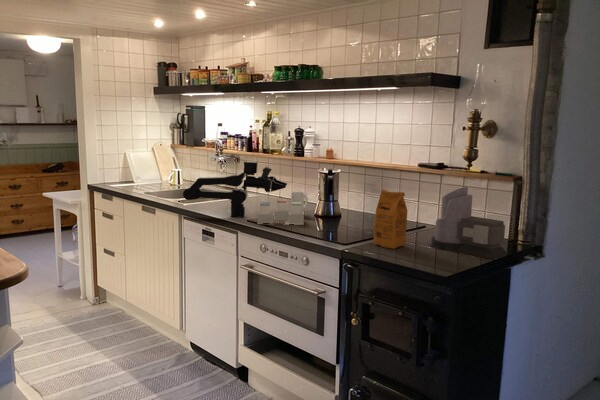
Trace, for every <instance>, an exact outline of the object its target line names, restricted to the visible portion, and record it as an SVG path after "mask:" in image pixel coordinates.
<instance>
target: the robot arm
mask: <svg viewBox="0 0 600 400" xmlns="http://www.w3.org/2000/svg"><path fill="white" fill-rule="evenodd" d="M257 170H258V161H244V162H243V172H241V173H240V174H239V173H236V174H231V175H228V176H214V177H211V176H210V177H198V178H197V179H196V180H195V181H194V183H193V184H191V186H190V187H187V188H186V189H184V190H183V193H182V196H183V198H184V199H185V200H186V201H192V200H198V199H212V200H213V199H216V200H230V215H229V216H230V218H243V217H244V216H246V206H245V204H244V201H246V200H247V198H248V196H249V195H248V192H247V188H253V189H257V190H259V189H262V190H264V191H265V192H266V193H272V192H274V191H279V190H283V189H286V188H287V187H286V186H287V185H288V183H287V182H284V181H281V180H278V179H277V178H276V176H274V175H270V174H271V173H270V172H272V168H270V167H269V166H265V167H264V168H263V169H262V174H261V175H259V176H255V174H257V173H258V171H257ZM269 175H270V176H269ZM244 178H245V179H244ZM221 185H222V186H223V185H224V186H229V187H235V188H232V190H229V191H227V190H226V191H225V190H204V189H201V188H202V187H203V186H221ZM241 185H242V186H241ZM240 186H241V188H236V187H240Z"/></svg>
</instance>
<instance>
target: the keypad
mask: <svg viewBox="0 0 600 400" xmlns="http://www.w3.org/2000/svg"><path fill="white" fill-rule="evenodd" d="M273 217H274V219H276V220H287V221H285V224H284V225H289V224H294V225H293V226H296V225H298V226H299V225H301V226H304V223H305V221H304V220H305V211H304V212H301V214H292V212H291V211H290V209H288V208H287V211H277V208H275V209H274V212H271V211H270V215H266V214H260V211H258V212H257V217H256V218H257V220H256V221H257V225H264V224H263V223H271V224H270V225H273V224H272V222H273Z"/></svg>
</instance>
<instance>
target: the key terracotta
mask: <svg viewBox="0 0 600 400" xmlns="http://www.w3.org/2000/svg"><path fill="white" fill-rule="evenodd" d="M287 206H288V202H287V199H279V198H278V199H277V201H276V209H277V211H287V209H288V208H287Z"/></svg>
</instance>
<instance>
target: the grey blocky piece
mask: <svg viewBox="0 0 600 400" xmlns="http://www.w3.org/2000/svg"><path fill="white" fill-rule="evenodd" d="M468 191H469V187H468V186H464V187H460V188H457V189H454V190H453V191H450V192H448V193H446V194H444V195H443V196H442V197H441V209H440V210H441V213H440V214H441V216H440V217H439V218H437V219H436V220H435V234H434V235H433V236H432V238H431V242H429V243H428V244H427V246H428V247H430V248H431V247H432V248H433V249H437V250H440V251H441V250H442V251H447V252H456V253H461V254H465V255H469V256H470V255H471V256H475V257H481V258H485V259H490V260H496V259H499V258H503V257H505V256H508V255H509V253H508V252H507V251H506V250H505V249H504V248H503V247H502V246H501V245H502V243H505V236H506V235H505V233H506V224H504V223H505V221H504V220H498V219H493V218H486V217H479V216H473V215H472V211H473V209H472V208H473V195H472V194H468Z"/></svg>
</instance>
